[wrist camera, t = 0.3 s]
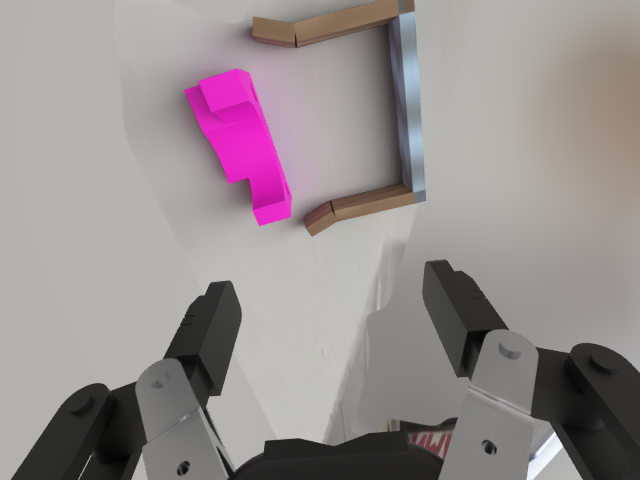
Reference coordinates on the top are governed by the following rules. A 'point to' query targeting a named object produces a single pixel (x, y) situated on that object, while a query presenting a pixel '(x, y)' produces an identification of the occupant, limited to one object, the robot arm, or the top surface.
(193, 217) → the top surface
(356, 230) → the top surface
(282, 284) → the top surface
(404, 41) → the cradle
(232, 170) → the magenta saddle bracket
